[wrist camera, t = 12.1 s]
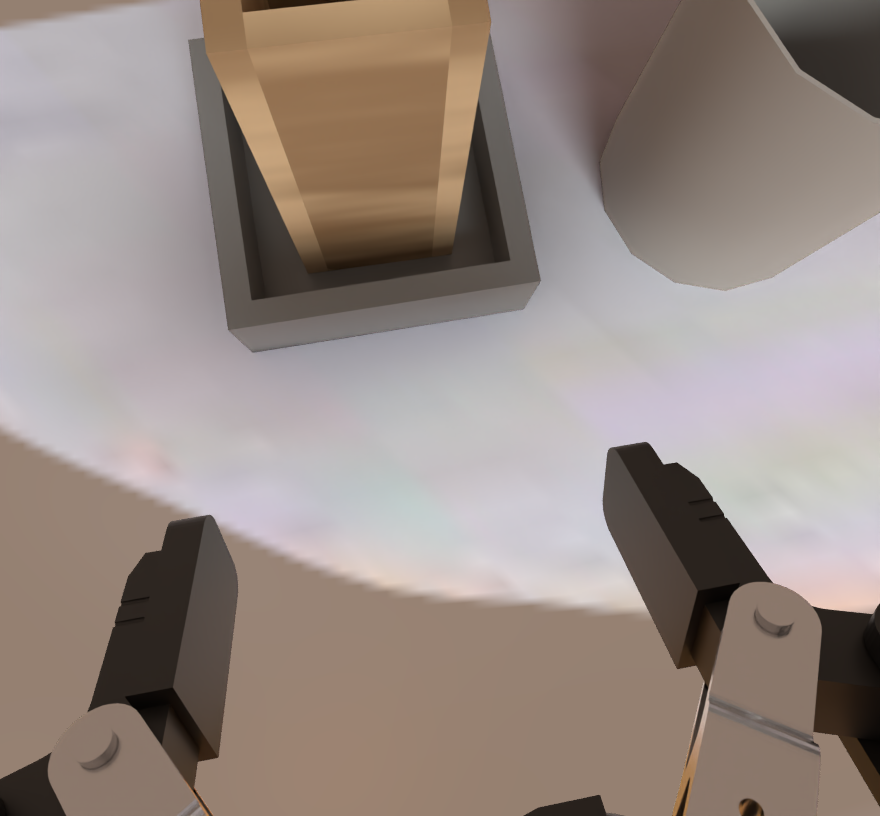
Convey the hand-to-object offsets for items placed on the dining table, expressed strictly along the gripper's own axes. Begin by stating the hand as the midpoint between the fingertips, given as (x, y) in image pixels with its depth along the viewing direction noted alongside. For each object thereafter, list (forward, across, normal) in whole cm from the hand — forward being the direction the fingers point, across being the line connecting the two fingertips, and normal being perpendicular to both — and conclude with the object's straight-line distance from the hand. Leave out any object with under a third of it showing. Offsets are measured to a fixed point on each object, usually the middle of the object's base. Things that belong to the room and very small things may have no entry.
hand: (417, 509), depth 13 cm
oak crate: (+13, 0, -2) cm, 13 cm away
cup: (+13, -13, -1) cm, 18 cm away
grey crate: (+14, 0, -2) cm, 14 cm away
